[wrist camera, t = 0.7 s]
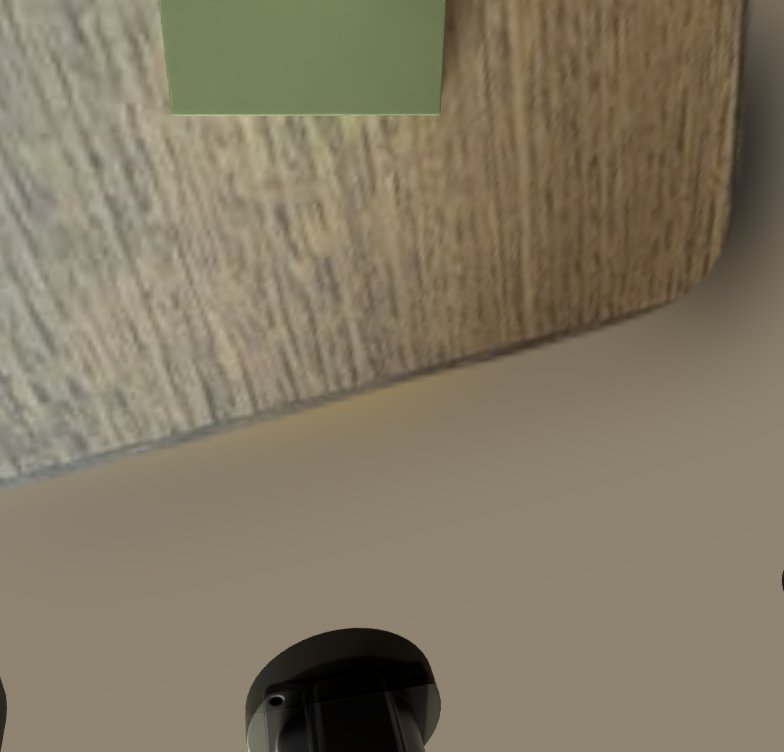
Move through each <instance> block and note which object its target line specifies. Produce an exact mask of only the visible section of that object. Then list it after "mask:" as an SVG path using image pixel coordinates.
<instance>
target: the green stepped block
mask: <svg viewBox="0 0 784 752" xmlns="http://www.w3.org/2000/svg"><path fill="white" fill-rule="evenodd" d="M159 6H160V15H161V24H162V32H163V41H164V50H165V59H166V68H167V77H168V86H169V94H170V103H171V112H172V115H173V116H367V115H440V112H441V92H442V72H443V52H444V32H445V13H446V0H159Z"/></svg>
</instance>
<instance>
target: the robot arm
mask: <svg viewBox="0 0 784 752" xmlns="http://www.w3.org/2000/svg"><path fill="white" fill-rule="evenodd" d="M782 586H783V590H784V571H783V575H782ZM427 691H428V672H427V669H426V665H425V664H424V663H423V662H421V661H411V662H405V663H399V664H393V665H386V666H380V667H374V668H368V669H361V670H355V671H349V672H343V673H336V674H330V675H324V676H317V677H311V678H305V679H299V680H292V681H286V682H280V683H274V684H271V685H269V686H267V687H266V688H265V689H264V690H263V694H262V697H263V710H264V721H265V733H266V744H267V752H425V749H424V737H425V722H426V707H427ZM276 696H277V697H276ZM6 714H7V701H6V694H5V691H4V688H3V685H2V681H1V678H0V751H1V746H2V740H3V734H4V728H5V723H6Z"/></svg>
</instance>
